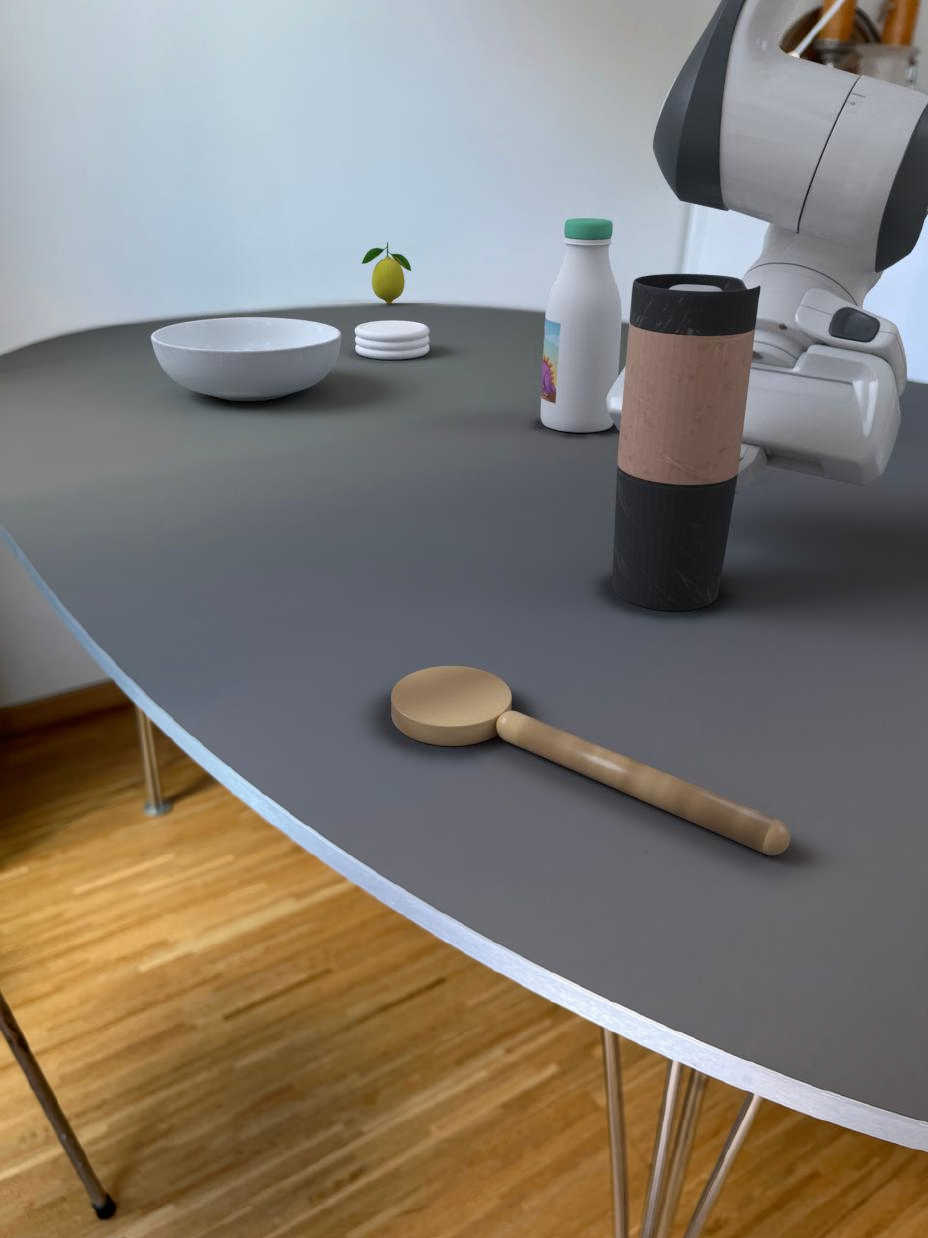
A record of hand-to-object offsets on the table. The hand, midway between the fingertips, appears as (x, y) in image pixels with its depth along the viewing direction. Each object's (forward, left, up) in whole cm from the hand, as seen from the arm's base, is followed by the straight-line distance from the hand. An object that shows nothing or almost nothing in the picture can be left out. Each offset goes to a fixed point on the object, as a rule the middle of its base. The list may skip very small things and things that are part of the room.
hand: (701, 504), depth 71 cm
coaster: (+67, -41, -5) cm, 79 cm away
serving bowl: (+64, -14, -5) cm, 65 cm away
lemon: (+95, -70, -5) cm, 118 cm away
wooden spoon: (-6, +26, -5) cm, 27 cm away
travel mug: (0, +4, -5) cm, 7 cm away
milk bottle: (+28, -27, -5) cm, 39 cm away
